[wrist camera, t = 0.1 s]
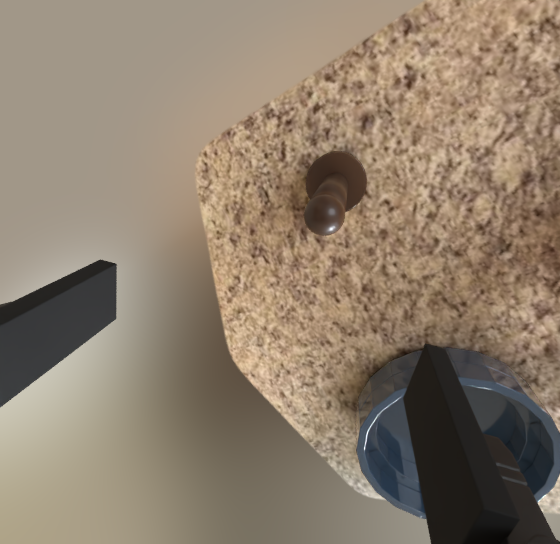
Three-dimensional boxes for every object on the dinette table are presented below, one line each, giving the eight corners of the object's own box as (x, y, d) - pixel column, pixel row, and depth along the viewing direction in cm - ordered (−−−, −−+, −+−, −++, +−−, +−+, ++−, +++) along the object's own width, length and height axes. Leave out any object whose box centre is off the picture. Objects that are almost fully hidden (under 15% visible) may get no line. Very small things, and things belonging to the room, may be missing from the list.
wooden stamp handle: (347, 139, 30) (342, 139, 15) (376, 189, 31) (398, 238, 16) (298, 171, 32) (250, 201, 17) (327, 218, 33) (305, 287, 18)
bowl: (489, 315, 33) (514, 347, 28) (561, 450, 37) (595, 500, 31) (327, 381, 39) (323, 417, 34) (402, 491, 43) (409, 539, 37)
